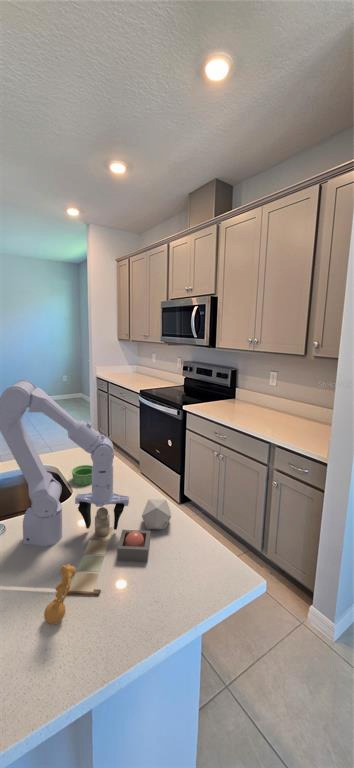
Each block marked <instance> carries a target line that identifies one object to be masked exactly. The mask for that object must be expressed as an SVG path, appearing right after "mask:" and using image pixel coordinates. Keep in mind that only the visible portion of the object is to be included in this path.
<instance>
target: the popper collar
mask: <svg viewBox="0 0 354 768" xmlns="http://www.w3.org/2000/svg"><path fill="white" fill-rule="evenodd" d="M133 531H137V532H140V533H141V534H142V535H143V537H144V547H134V546H125V539H126V537H127V535H128V534H129V533H131V532H133ZM150 546H151V530H138V529H136V530H135V529H133V530H132V529H121V534H120V538H119V541H118V546H117V551H116V552H117V554H116V555H117V556H116V557H117V562H138V563H140V562H141V563H148V561H149V553H150Z"/></svg>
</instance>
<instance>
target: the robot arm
mask: <svg viewBox="0 0 354 768" xmlns="http://www.w3.org/2000/svg"><path fill="white" fill-rule="evenodd" d="M27 408H29V409H28V411H27ZM26 411H27V413H42V414H43V415H45V416H46V417H48V418H49V419H51V420H52V421H54V422H55V423H56V424H57V425H58V426H60V427H62V428H63V429H65V430H66V431H67V437H68V439H70V440H71V441H72V442H73V443H74V444H75V445H77V446H79V448H81V449H82V450H83V451H85V452H86V453H87V454H90V459H91V460H92V465H91V466H92V483H91V492H90V493H89V492H87V493H77V494H76V495H75V497H74V498H75V499H74V504H75V505H78V508H77V510H78V512H79V513H80V515H81V516H82V519H83V521H84V523H85V527H86V529H87V530H88V529H90V527H91V525H92V514H91V510H92V505H95V507H98V508H101V507H104V506H107V505H115V506H114V508H113V516H114V519H113V520H114V521H113V527H114V528H113V531H115V530H116V531H117V529H118V525H119V520H120V517H121V516H122V513H123V512H124V509H125V507H129V504H130V496H129V495H122V494H118V493H114V458H115V453H114V444H113V441H112V440H111V439H110V437H109V436H105V434H102V433H100V432H98V431H97V430H96V429H94V428H93V427H92V423H91V422H90V421H87V422H86V421H85V420H82V419H81V420H77V419H75V418H74V417H73V416H71V415H70V414H69V413H68V412H67V411H66V410H65V409H64V408H62V406H60V405H59V404H58V403H57V402H56V401H55V400H53V399H52V398H51V397H50V396H49V395H48V394H47V393H46V392H45V391H44V390H43V389H42V388H40V387H39V386H36V385H35V383H33V382H32V381H31V380H27V379H20V380H18V381H16V382H15V383H14V384H12V385H11V386H8V387H7V388H6V389H4V390H3V392H2V394H1V395H0V433H1V435H2V437H3V439H4V441H5V442H6V445H7V446H8V449H9V450H10V452H11V455H12V456H13V458H14V460H15V462H16V464H17V466H18V467H19V470H20V471H21V473H22V475H23V477H24V479H25V481H26V482H27V484H28V485H27V486H28V498H29V499H30V501H31V506H30V507H29V508H27V510H26V511H25V513H24V516H23V518H22V519H23V520H22V539H23V540H22V541H23V542H22V543H23V545H33V546H34V545H35V546H39V547H49V546H53V545H56V544H57V543H59V542H60V541H61V540H62V539H63V506H62V503H61V502H60V497H61V495H62V491H63V488H62V485H61V483H60V482H59V481H58V480H56V479H55V477H53V474H52V473H51V472H48V470H47V469H46V467H45V465H44V464H43V461H42V459H41V457H40V456H39V453H38V451H37V450H36V447H35V446H34V444H33V441H32V440H31V438H30V436H29V434H28V431H27V429H26V428H25V426H24V423H23V422H22V420H23V417H24V416H25V415H24V414H25V412H26Z"/></svg>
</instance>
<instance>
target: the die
mask: <svg viewBox="0 0 354 768" xmlns="http://www.w3.org/2000/svg"><path fill="white" fill-rule="evenodd" d="M141 518H142V520H143V523H144V525H145V528H146V529H147V530H166V529H167V527H168V524H169V523H170V520H171V518H172V512H171V509H170V506H169V503H168V500H167V499H160V498H159V499H158V498H157V499H156V498H155V499H154V498H151V499H150V498H149V499H148V500H147V502H146V505H145V506H144V509H143V511H142V515H141Z"/></svg>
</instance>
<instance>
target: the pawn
mask: <svg viewBox="0 0 354 768" xmlns="http://www.w3.org/2000/svg"><path fill="white" fill-rule="evenodd" d="M110 517H111V516H110V514H109V510H108V509H107V508H106V507H104V506H103V507H98V509H97V510H96V515H95V516H94V528H95V535H96V536H97V537H105V536H107V535H108V534H109V527H110Z"/></svg>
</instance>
